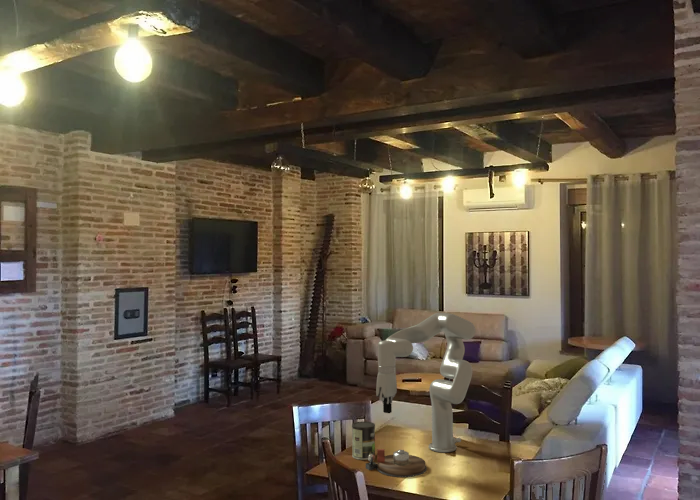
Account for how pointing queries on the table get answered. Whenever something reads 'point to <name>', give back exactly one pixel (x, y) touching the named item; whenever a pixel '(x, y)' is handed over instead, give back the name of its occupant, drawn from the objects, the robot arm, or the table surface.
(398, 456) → the cover
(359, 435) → the coffee can
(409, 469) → the turntable
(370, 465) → the small bust figurine
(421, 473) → the turntable base
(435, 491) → the table surface
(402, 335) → the robot arm
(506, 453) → the table surface
